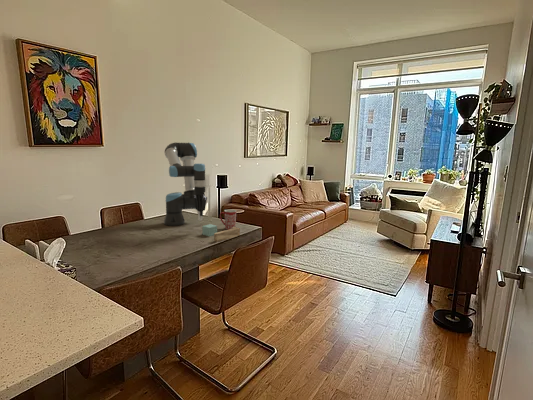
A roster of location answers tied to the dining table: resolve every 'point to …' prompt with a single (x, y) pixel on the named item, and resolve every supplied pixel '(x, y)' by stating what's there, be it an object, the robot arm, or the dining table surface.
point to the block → (209, 230)
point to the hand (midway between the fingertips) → (200, 220)
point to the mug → (229, 218)
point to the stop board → (227, 234)
